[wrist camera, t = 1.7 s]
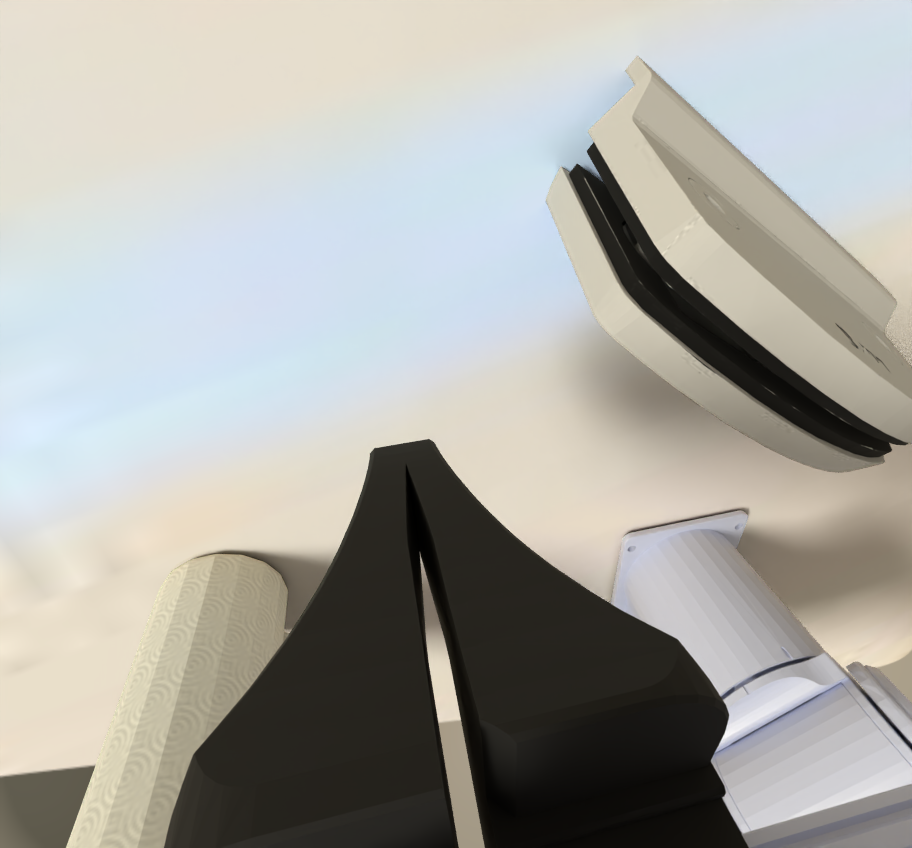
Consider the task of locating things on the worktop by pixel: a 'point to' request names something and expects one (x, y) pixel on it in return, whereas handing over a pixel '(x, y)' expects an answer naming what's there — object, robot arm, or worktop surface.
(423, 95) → the worktop surface
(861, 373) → the beige piece
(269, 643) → the paper towel roll
